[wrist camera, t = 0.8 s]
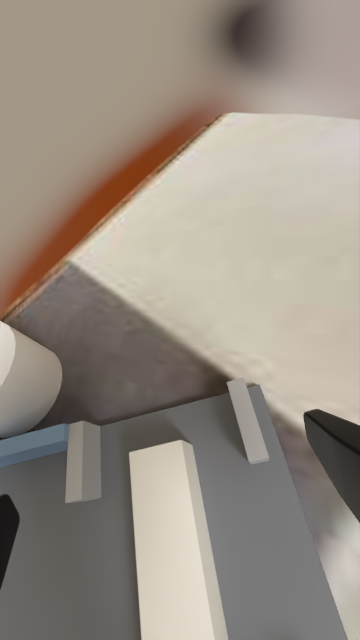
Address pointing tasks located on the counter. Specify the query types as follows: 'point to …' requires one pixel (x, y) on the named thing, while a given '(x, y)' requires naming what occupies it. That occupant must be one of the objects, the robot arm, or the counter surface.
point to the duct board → (118, 526)
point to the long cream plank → (173, 547)
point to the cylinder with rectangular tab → (25, 382)
